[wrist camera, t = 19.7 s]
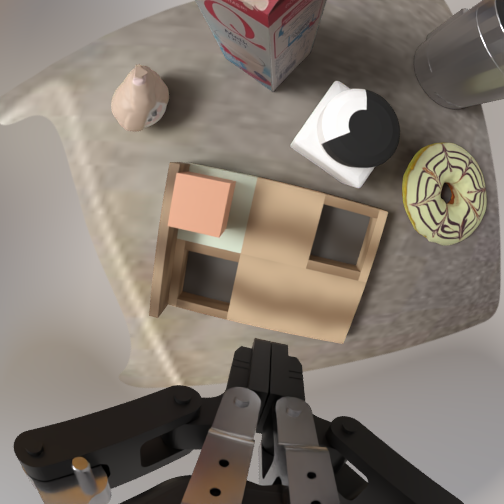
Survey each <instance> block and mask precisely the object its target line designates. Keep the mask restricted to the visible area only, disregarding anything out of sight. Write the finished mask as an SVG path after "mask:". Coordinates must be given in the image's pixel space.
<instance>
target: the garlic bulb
mask: <svg viewBox="0 0 504 504" xmlns="http://www.w3.org/2000/svg"><path fill="white" fill-rule="evenodd" d="M168 101H169V91H168V87H167V86H166V85H165V83H164V81H162V80H161V78H160V76H159V75H158V74H157V73H156V72H155V71H153V70H151V69H150V68H149V67H147V66H141V65H140V64H138V65H136V66H135V68H134V69H133V70H132V71H131V72H130V73H129V74H128V76H127V77H126V78H125V80H124V81H123V83H122V84H121V85H120V86H119V87H118V88H117V89H116V91H115V93H114V95H113V98H112V104H111V108H112V113H113V115H114V116H115V118H116V119H117V120H118V122H119V124H120V125H121V126H122V127H124V129H125V130H127V131H135V132H136V131H141V130H142V129H143V128H145V127H149V126H151V125H153V124H155V123H156V122H157V121H159V120H160V119H161V117H162V116H163V115H164V113H165V110H166V106H167V103H168Z"/></svg>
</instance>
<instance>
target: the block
mask: <svg viewBox="0 0 504 504" xmlns="http://www.w3.org/2000/svg"><path fill="white" fill-rule="evenodd" d="M235 184H236V181H233V180H228V179H224V178H219V177H214V176H209V175H204V174H199V173H193V172H179V173H177V174H176V179H175V185H174V190H173V196H172V202H171V208H170V214H169V220H168V226H170V227H175V228H179V229H183V230H188V231H192V232H196V233H201V234H205V235H209V236H214V237H218V238H220V236H221V235H222V234H223V232H224V231H225V230H226V227H227V222H228V218H229V213H230V208H231V203H232V198H233V194H234V189H235Z"/></svg>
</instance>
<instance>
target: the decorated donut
mask: <svg viewBox="0 0 504 504" xmlns="http://www.w3.org/2000/svg"><path fill="white" fill-rule="evenodd" d="M444 183H446V184H448V186H449V187H450V190H451V193H452V196H451V200H450V201H449V202H448V203H447V204H446V203H445V201H444V200H442V199H441V191H442V186H443V184H444ZM402 197H403V203H404V208H405V210H406V213H407V215H408V217H409V219H410V221H411V223H412V225H413V227H414V229H415V230H416V231H417V232H418V233H419V234H421V235H423V236H424V237H425V238H427V239H428V241H429V242H436V243H438V244H441V245H452V244H455V243H457V242H460V241H462V240H464V239H465V238H467V237H468V236H469V235H471V234H472V232H473V231H474V230H475V229H476V228H477V227H478V225H479V224H480V222H481V220H482V218H483V215H484V214H485V211H486V203H487V199H486V188H485V182H484V177H483V174H482V172H481V170H480V168H479V166H478V164H477V162H476V161H475V160H474V158H473V157H472V156H471V155H470V154H469V153H468V152H467V151H466V150H464V149H463V148H462V147H460V146H457V145H456V144H453V143H435V144H431V145H428V146H425V147H423V148H421V149H420V150H419V151H418V152H417V153H416V154H415V156H414V157H413V159H412V160H411V162H410V163H409V164H408V167H407V170H406V171H405V173H404V176H403V182H402Z"/></svg>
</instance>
